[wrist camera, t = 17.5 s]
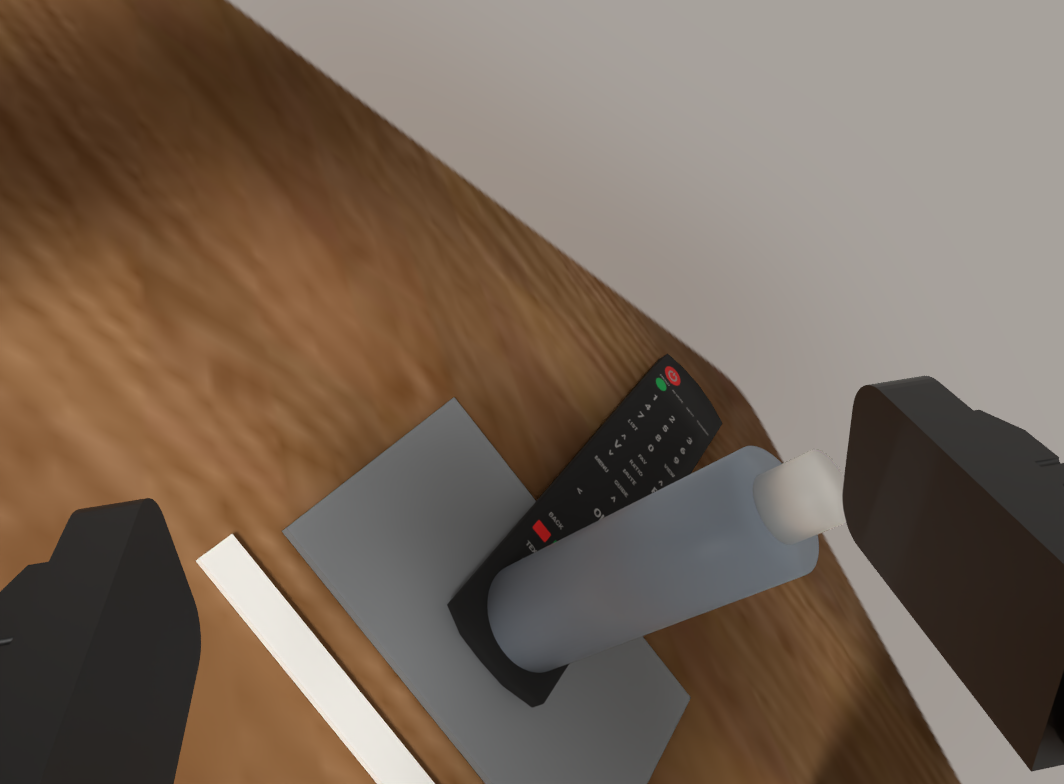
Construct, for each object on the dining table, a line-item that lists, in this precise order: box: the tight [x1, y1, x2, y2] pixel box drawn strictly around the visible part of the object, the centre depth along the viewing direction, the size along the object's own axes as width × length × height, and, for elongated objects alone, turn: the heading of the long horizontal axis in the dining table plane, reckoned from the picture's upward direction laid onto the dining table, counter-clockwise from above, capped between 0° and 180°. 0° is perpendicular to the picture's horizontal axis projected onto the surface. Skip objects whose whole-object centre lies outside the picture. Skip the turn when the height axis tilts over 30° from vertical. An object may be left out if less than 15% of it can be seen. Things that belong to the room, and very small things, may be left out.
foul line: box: [196, 534, 435, 784], centre depth 31 cm, size 20×2×1 cm, turn 49°
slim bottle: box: [487, 446, 846, 673], centre depth 31 cm, size 4×4×14 cm
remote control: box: [447, 354, 722, 708], centre depth 43 cm, size 5×24×1 cm, turn 140°
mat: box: [282, 397, 691, 784], centre depth 37 cm, size 18×11×1 cm, turn 52°
